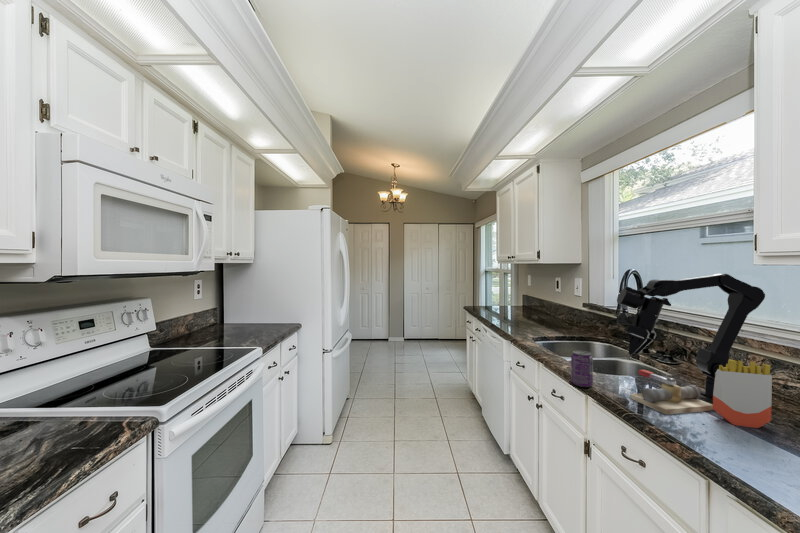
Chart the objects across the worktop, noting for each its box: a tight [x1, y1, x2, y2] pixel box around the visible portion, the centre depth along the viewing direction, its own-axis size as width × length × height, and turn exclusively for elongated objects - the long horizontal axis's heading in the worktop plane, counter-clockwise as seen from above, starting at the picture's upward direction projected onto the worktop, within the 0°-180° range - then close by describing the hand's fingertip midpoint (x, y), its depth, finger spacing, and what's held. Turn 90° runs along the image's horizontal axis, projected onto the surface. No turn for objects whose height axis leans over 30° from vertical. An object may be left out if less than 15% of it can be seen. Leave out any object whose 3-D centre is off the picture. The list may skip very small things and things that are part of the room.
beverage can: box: [570, 350, 594, 388], centre depth 122 cm, size 7×7×12 cm
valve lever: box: [638, 368, 677, 386], centre depth 110 cm, size 12×2×2 cm, turn 11°
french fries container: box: [712, 359, 773, 429], centre depth 93 cm, size 5×11×18 cm, turn 73°
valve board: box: [630, 382, 715, 415], centre depth 106 cm, size 18×12×6 cm, turn 101°
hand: (632, 354), depth 118 cm, fingers open, 9 cm apart
